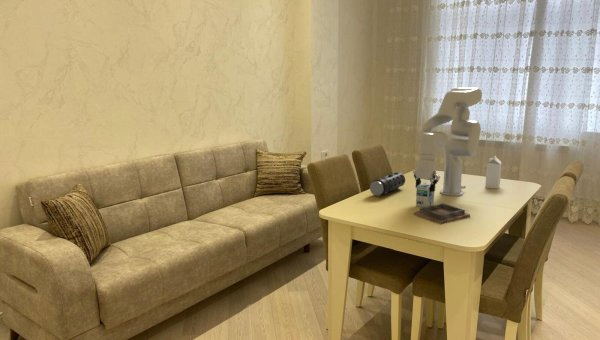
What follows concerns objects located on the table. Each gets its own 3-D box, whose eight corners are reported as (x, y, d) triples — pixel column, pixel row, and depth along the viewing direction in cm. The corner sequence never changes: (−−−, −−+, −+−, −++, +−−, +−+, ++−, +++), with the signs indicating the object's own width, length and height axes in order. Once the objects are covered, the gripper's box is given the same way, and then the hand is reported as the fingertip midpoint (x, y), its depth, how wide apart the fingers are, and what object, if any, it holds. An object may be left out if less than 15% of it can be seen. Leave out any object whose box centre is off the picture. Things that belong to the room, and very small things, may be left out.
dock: (441, 208, 222) (442, 201, 222) (470, 217, 208) (470, 210, 207) (413, 214, 212) (413, 208, 212) (441, 224, 198) (441, 217, 197)
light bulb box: (428, 208, 223) (429, 187, 221) (415, 206, 227) (416, 186, 225) (434, 203, 232) (435, 183, 230) (421, 201, 236) (422, 182, 233)
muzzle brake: (405, 189, 261) (406, 172, 259) (383, 199, 240) (384, 181, 237) (390, 187, 267) (391, 170, 265) (368, 197, 245) (368, 179, 243)
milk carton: (499, 186, 266) (502, 155, 263) (497, 189, 261) (500, 157, 257) (487, 185, 270) (489, 154, 266) (485, 187, 264) (487, 156, 260)
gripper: (409, 155, 229) (407, 187, 232) (435, 159, 215) (432, 193, 218) (419, 154, 233) (417, 185, 236) (445, 158, 219) (443, 192, 222)
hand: (425, 189), depth 227 cm, fingers open, 9 cm apart
